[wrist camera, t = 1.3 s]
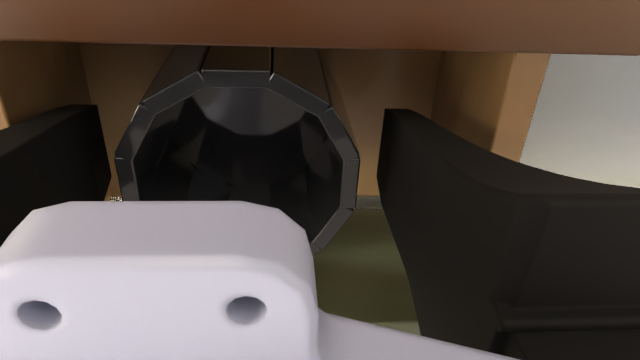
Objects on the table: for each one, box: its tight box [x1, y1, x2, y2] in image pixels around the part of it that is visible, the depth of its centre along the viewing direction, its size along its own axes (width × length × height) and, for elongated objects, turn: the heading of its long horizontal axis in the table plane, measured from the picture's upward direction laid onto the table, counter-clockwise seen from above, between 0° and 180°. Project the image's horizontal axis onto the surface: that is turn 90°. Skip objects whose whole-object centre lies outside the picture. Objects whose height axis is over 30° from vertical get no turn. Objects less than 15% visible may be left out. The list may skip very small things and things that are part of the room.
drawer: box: [0, 41, 551, 336], centre depth 14 cm, size 17×13×6 cm
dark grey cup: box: [114, 45, 361, 255], centre depth 13 cm, size 5×5×5 cm
